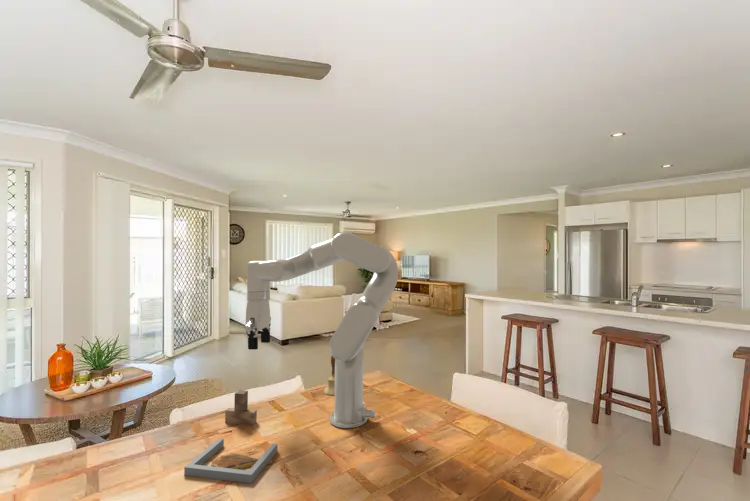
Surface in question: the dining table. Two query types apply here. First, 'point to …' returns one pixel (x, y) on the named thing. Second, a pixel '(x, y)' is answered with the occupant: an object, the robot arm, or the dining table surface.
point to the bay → (237, 475)
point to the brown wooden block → (241, 410)
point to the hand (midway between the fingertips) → (259, 345)
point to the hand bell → (331, 380)
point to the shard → (234, 461)
